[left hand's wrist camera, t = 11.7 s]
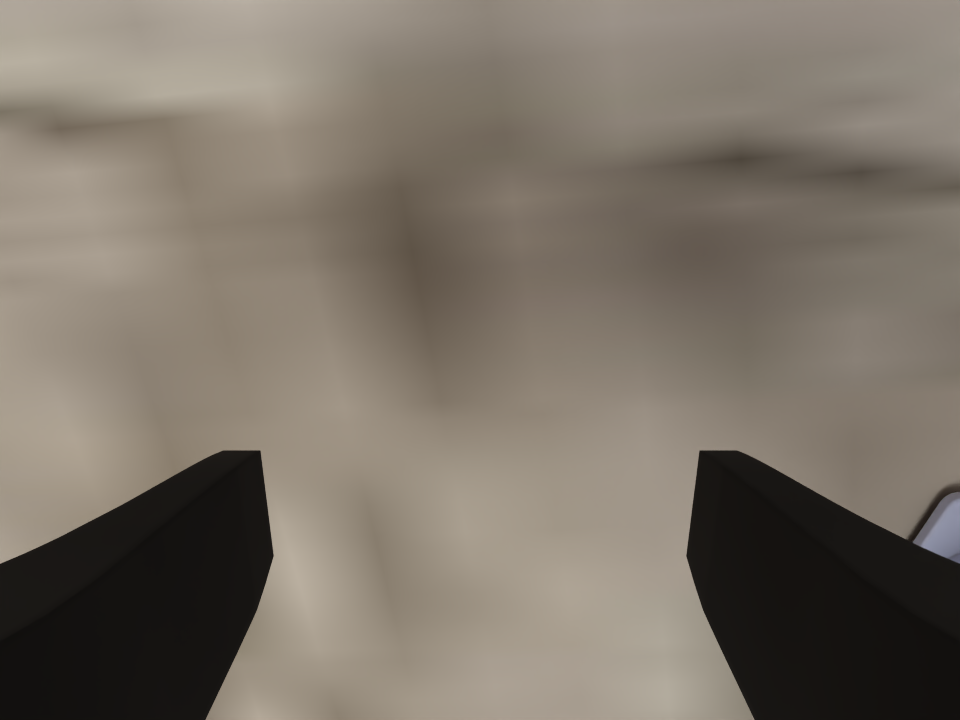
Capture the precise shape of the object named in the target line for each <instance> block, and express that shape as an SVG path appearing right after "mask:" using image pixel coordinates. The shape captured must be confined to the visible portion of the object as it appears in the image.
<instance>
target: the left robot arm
mask: <svg viewBox="0 0 960 720" xmlns="http://www.w3.org/2000/svg"><path fill="white" fill-rule="evenodd" d="M272 560H273V548H272V540H271V532H270V524H269V516H268V508H267V500H266V492H265V484H264V476H263V468H262V460H261V452H260V451H221V452H219V453H216V454H214V455H212V456H210V457H207V458H206V459H204V460H202V461H200V462H198V463H196V464H194V465H192V466H190V467H189V468H187V469H185V470H183V471H181V472H180V473H178V474H176V475H174V476H173V477H171V478H169V479H167V480H166V481H164V482H162V483H160V484H158V485H157V486H155V487H153V488H151V489H150V490H148V491H146V492H144V493H142V494H141V495H139V496H137V497H135V498H134V499H132V500H130V501H128V502H126V503H125V504H123V505H121V506H119V507H117V508H115V509H113V510H111V511H109V512H107V513H106V514H104V515H102V516H100V517H98V518H96V519H94V520H92V521H90V522H88V523H86V524H84V525H82V526H80V527H78V528H77V529H75V530H73V531H71V532H69V533H67V534H65V535H63V536H61V537H59V538H57V539H55V540H53V541H51V542H49V543H46V544H44V545H42V546H40V547H38V548H36V549H33V550H31V551H29V552H27V553H25V554H22V555H20V556H18V557H15V558H13V559H11V560H8V561H6V562H4V563H1V564H0V720H205V719H206V717H207V715H208V713H209V711H210V709H211V707H212V705H213V703H214V700H215V698H216V696H217V694H218V692H219V690H220V688H221V686H222V684H223V682H224V679H225V677H226V675H227V673H228V671H229V669H230V667H231V665H232V663H233V661H234V658H235V656H236V654H237V652H238V650H239V648H240V646H241V643H242V641H243V639H244V637H245V635H246V633H247V631H248V628H249V626H250V624H251V622H252V620H253V617H254V615H255V613H256V611H257V608H258V605H259V602H260V599H261V596H262V593H263V590H264V587H265V583H266V580H267V577H268V573H269V570H270V566H271V563H272ZM687 560H688V563H689V566H690V570H691V573H692V577H693V580H694V583H695V587H696V590H697V593H698V596H699V599H700V602H701V605H702V608H703V611H704V613H705V615H706V617H707V620H708V622H709V624H710V626H711V628H712V631H713V633H714V635H715V637H716V639H717V641H718V643H719V646H720V648H721V650H722V652H723V654H724V656H725V658H726V661H727V663H728V665H729V667H730V669H731V671H732V673H733V675H734V677H735V679H736V682H737V684H738V686H739V688H740V690H741V692H742V694H743V696H744V698H745V700H746V703H747V705H748V707H749V709H750V711H751V713H752V715H753V717H754V719H755V720H960V492H955V493H951V494H949V495H947V496H945V497H944V498H943V499H942V500H941V501H940V503H939V504H938V506H937V507H936V509H935V510H934V511H933V513H932V514H931V516H930V517H929V519H928V520H927V522H926V523H925V525H924V526H923V528H922V529H921V531H920V532H919V534H918V535H917V537H916V538H915V540H914V541H913V543H912V542H910V541H908V540H906V539H904V538H902V537H900V536H898V535H896V534H894V533H892V532H890V531H888V530H886V529H884V528H882V527H880V526H878V525H876V524H874V523H872V522H870V521H868V520H866V519H864V518H862V517H860V516H858V515H856V514H854V513H853V512H851V511H849V510H847V509H845V508H843V507H841V506H840V505H838V504H836V503H834V502H832V501H830V500H829V499H827V498H825V497H823V496H822V495H820V494H818V493H816V492H814V491H813V490H811V489H809V488H807V487H806V486H804V485H802V484H800V483H798V482H797V481H795V480H793V479H791V478H790V477H788V476H786V475H784V474H783V473H781V472H779V471H777V470H775V469H774V468H772V467H770V466H768V465H766V464H764V463H763V462H761V461H759V460H757V459H755V458H753V457H751V456H749V455H747V454H744V453H742V452H739V451H700V452H699V460H698V468H697V476H696V484H695V492H694V500H693V508H692V516H691V524H690V532H689V540H688V548H687Z"/></svg>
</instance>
